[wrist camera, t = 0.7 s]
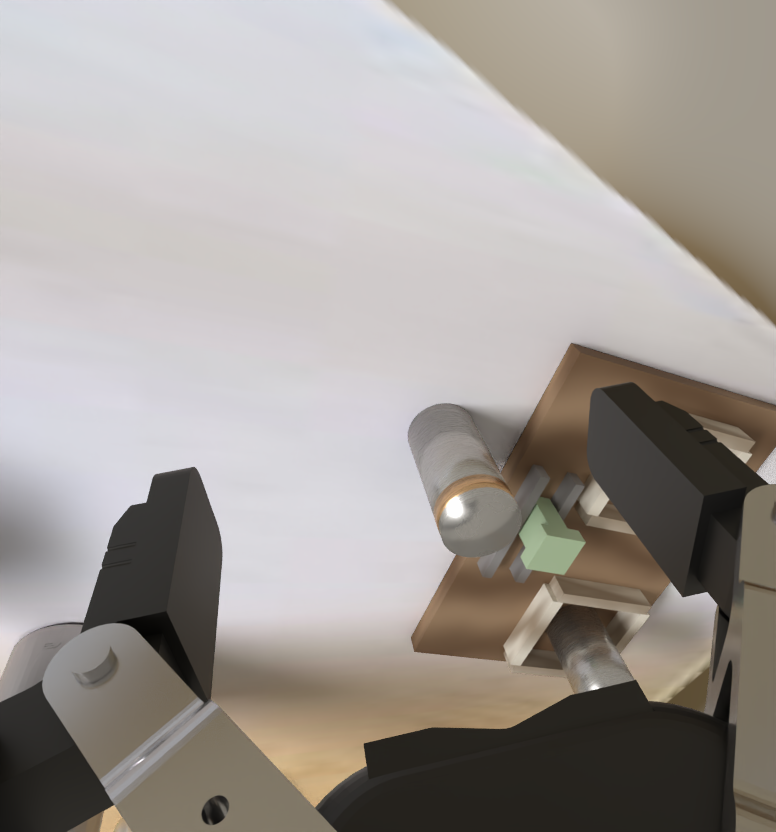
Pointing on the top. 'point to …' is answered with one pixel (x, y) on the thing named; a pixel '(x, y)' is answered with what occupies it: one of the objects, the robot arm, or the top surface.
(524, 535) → the green notched block
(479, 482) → the cylinder
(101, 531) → the top surface
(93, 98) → the top surface
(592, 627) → the seated billet
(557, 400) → the pallet
